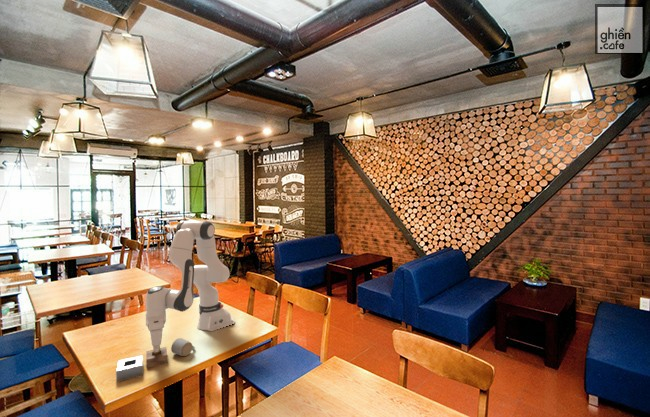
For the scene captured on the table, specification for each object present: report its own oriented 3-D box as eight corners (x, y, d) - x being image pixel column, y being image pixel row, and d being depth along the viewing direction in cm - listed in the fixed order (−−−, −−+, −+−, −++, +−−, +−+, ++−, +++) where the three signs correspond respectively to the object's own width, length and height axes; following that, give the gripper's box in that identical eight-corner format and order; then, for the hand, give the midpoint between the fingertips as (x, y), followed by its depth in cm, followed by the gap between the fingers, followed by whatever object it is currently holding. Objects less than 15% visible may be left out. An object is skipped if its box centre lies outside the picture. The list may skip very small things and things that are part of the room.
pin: (161, 357, 156) (160, 338, 156) (161, 361, 153) (160, 341, 152) (152, 359, 154) (152, 340, 154) (152, 363, 151) (152, 343, 150)
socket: (142, 364, 150) (142, 355, 149) (142, 375, 141) (142, 365, 141) (118, 370, 145) (118, 360, 144) (116, 382, 136) (116, 371, 136)
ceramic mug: (182, 359, 155) (182, 344, 154) (170, 355, 158) (170, 341, 158) (198, 350, 164) (198, 336, 164) (187, 346, 168) (187, 333, 168)
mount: (166, 354, 160) (166, 346, 159) (167, 362, 152) (167, 354, 152) (146, 358, 155) (146, 351, 155) (146, 367, 147) (146, 359, 147)
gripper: (148, 313, 160) (149, 339, 160) (148, 328, 142) (149, 357, 143) (162, 311, 163) (162, 337, 163) (163, 326, 145) (164, 354, 146)
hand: (156, 346), depth 153 cm, fingers open, 8 cm apart
